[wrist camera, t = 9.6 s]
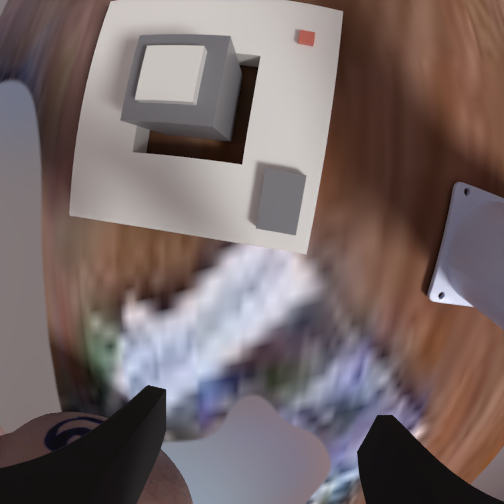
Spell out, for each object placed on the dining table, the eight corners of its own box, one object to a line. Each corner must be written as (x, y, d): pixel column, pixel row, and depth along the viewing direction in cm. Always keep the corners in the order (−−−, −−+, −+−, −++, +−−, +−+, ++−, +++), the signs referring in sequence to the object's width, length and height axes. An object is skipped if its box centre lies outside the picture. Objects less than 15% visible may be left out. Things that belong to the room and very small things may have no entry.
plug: (242, 77, 16) (228, 29, 10) (231, 142, 17) (209, 124, 11) (177, 72, 16) (134, 30, 10) (165, 134, 17) (113, 118, 11)
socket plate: (336, 25, 15) (345, 6, 12) (302, 245, 18) (307, 257, 16) (123, 13, 15) (106, -3, 12) (86, 211, 18) (63, 217, 16)
